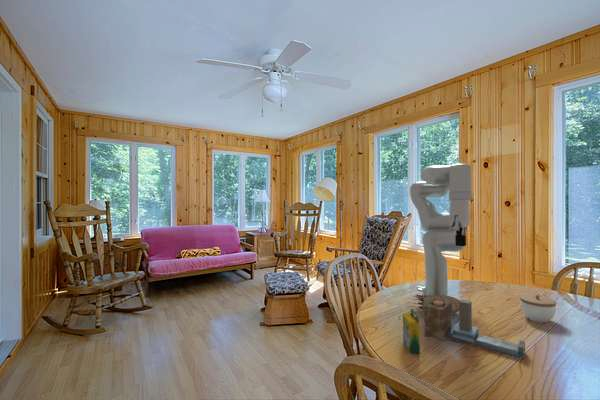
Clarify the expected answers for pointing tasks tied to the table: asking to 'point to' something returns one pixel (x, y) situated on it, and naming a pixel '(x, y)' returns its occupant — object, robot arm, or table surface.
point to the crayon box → (411, 332)
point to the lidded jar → (538, 307)
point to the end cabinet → (437, 319)
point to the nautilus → (441, 297)
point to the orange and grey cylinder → (438, 303)
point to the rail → (493, 344)
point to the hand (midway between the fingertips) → (460, 245)
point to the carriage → (465, 323)
